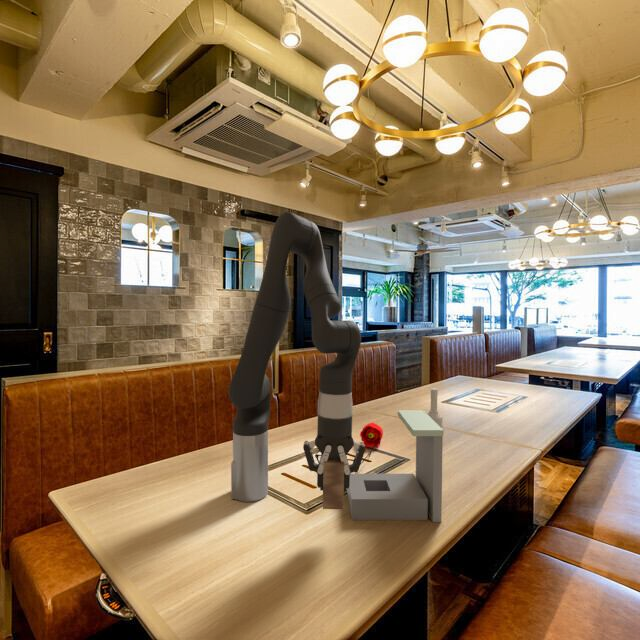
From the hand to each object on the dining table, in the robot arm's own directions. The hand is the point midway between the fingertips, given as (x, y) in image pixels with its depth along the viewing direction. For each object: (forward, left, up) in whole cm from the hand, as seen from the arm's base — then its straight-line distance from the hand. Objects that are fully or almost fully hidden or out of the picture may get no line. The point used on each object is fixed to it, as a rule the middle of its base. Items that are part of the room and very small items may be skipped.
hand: (333, 488), depth 86 cm
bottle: (+33, +35, -11) cm, 49 cm away
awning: (+22, +13, -11) cm, 28 cm away
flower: (+17, +57, -11) cm, 61 cm away
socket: (+14, +13, -11) cm, 22 cm away
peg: (0, 0, -3) cm, 3 cm away
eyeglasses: (+6, +42, -11) cm, 44 cm away
